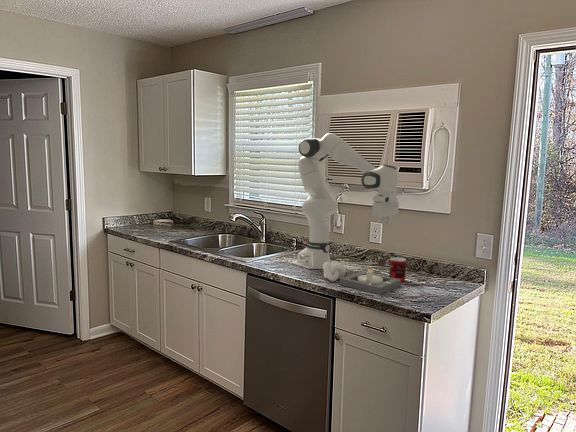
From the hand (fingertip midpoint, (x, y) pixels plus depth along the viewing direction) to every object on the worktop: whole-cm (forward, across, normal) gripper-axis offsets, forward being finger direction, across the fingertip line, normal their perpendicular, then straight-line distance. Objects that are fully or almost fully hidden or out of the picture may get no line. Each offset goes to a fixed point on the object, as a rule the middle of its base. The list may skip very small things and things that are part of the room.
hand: (384, 224), depth 225 cm
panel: (+28, +15, +3) cm, 32 cm away
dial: (+26, +15, +3) cm, 30 cm away
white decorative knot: (+29, +20, -16) cm, 39 cm away
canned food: (+28, -3, +7) cm, 29 cm away
